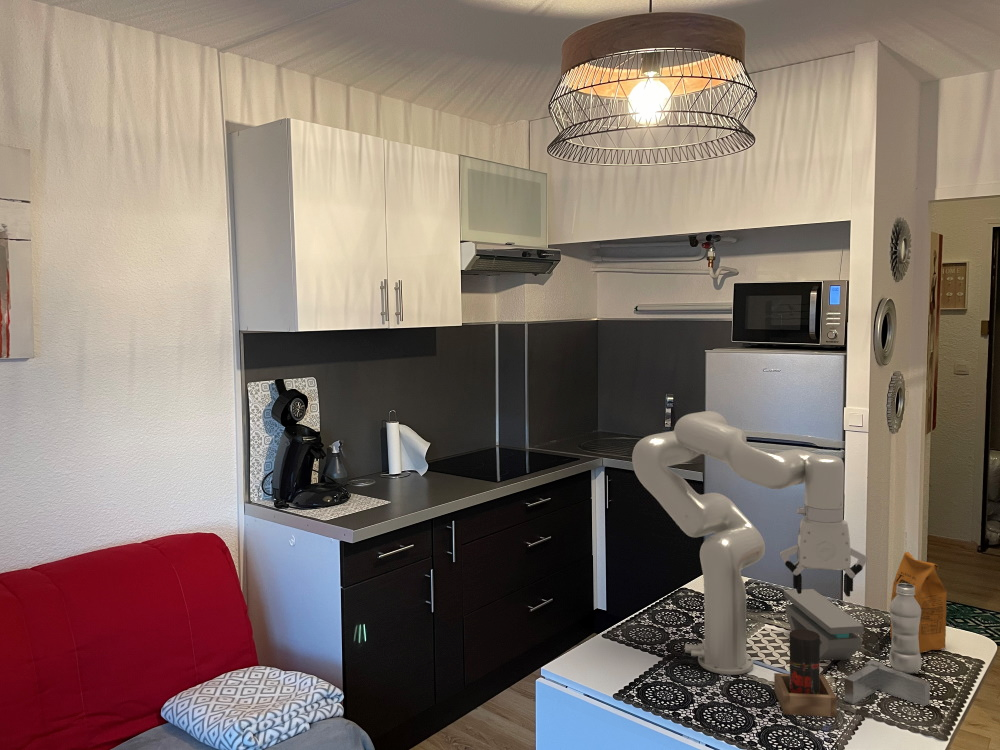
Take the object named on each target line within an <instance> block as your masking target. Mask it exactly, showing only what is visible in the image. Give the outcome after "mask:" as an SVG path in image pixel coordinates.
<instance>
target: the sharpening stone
mask: <svg viewBox="0 0 1000 750" xmlns="http://www.w3.org/2000/svg"><path fill="white" fill-rule="evenodd" d="M783 597H784V599H786V600H788V601H789V602H790V603H788V604H785V616H786V618H787V621H788V624H789V626H790V627H789V628H790V631H792V630H796V629H805V630H810V631H814V632H816V633H818V634H819V636H820V660H831V661H841V660H842V661H844V660H847V659H848V660H850V659H851V657H853V656H854V655H855V654H856V653H857V652H858V651H859V650H860V649H861V648H862V638H861V636H859V635H858V634H863V633H865V631H864V630H865V626H864V625H863V624H862V623H860V622H859V621H857V620H856V619H854V617H852V616H851V615H849V614H848V613H847V612H845V611H844V610H843V609H842V608H840V607H838V606H837V605H836V604H834V603H833V602H831V601H830V600H829V599H828V598H826V597H824V596H823V595H822V594H820V593H819V592H818V591H816V590H815V589H814V588H810V589H807V588H806V589H805V588H804V589H802V593H801V594H798V593H797V590H796V589H791V590H790V589H787V590H783ZM832 659H833V660H832Z"/></svg>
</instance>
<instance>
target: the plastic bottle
mask: <svg viewBox="0 0 1000 750" xmlns="http://www.w3.org/2000/svg"><path fill="white" fill-rule="evenodd" d="M896 593H897V596H896V597H895V598H894V599H893V600H892V601H891V600H890V603H889V607H888V608H889V615H890V617H891V618H890V624H891V623H892V638H891V645H890V650H889V656H888V661H889V665H890V666H891V667H892V668H891V669H894V670H897V671H900V672H903V673H906V674H909V675H911V674H916V673H918V672H919V671H920V670H921V668H922V663H923V662H922V656H921V653H920V650H919V640H918V636H919V634H918V633H919V624H920V618H921V607H920V605H919V604H918V602H917V601H916V599H915V598H914V595H915V586H913V585H911V584H905V583H900V584H897V590H896Z"/></svg>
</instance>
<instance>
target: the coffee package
mask: <svg viewBox="0 0 1000 750" xmlns="http://www.w3.org/2000/svg"><path fill="white" fill-rule="evenodd" d="M937 570H939V566H938V564H937V563H933V562H927V561H923V560H918V559H915V558H914V556H913V555H912V554H911V553H910V552H909V551H905V552H904V554H903V556H902V558H901V561H900V563H899V566H898V570H897V571H896V574H895V577H894V581H893V584H892V590H891V591H892V592H891V598H890V602H891V601H892V600H893V599H894V598H895V597H896V596H897V593H896V590H897V584H900V583H905V584H911V585H913V586H915V595H914V598H915V599H916V601H917V602H918V604H919V605H920V607H921V618H920V624H919V633H918V634H919V636H918V640H919V650H920V654H922V653H924V652H925V653H926V652H929V651H932V650H936V651H939V650H940V651H941V650H942V649H945V648H946V636H947V632H946V631H947V630H946V629H947V628H946V627H947V600H948V599H947V595H948V593H947V591H946V589H945V587H944V584H943V583H942V581H941V578H940V577H939V576H938V574H937ZM889 619H891V617H890V618H889ZM889 628H890V630H889V631H890V636H889V637H890V639H892V623H891V622H890V627H889Z"/></svg>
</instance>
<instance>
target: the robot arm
mask: <svg viewBox="0 0 1000 750" xmlns="http://www.w3.org/2000/svg"><path fill="white" fill-rule="evenodd" d="M631 455H632V456H631V459H632V460H631V461H632V467H633V470H634V473H635V475H636V477H637V479H638V480H639V482H640V483H641V484H642V486H643V487H644V488H645V489H646V490H647V491H648V492H649V493H650V494H651V495H652V497H654V498H655V499H656V500H657V502H658V503H659V504H660V506H661V507H662V508H663V509H664V510H665V511H666V513H667V514H668V516H670V517H671V518H672V520H673V521H674V522H675V524H676V525H677V526H678V527H679V528H680V530H681V531H683V533H684V534H685V535H686V536H688V537H691V538H700V537H704V536H708V535H709V537H707V538H706V539H705V540H704V541H703V542H702V544H701V546H700V550H699V559H700V564H701V570H702V577H703V599H704V639H702V641H701V642H702V643H698V644H692V643H691V644H687V643H685V644H684V652H685V653H688V654H690V656H691V657H697V662H698V665H700V667H702V668H703V669H704V670H706V671H709V672H710V673H711V672H712V673H715V674H719V675H726V676H737V675H744V674H746V673H749V672H750V671H752V670H753V668H754V660H753V658H752V657H751V656H750V655H748V654H747V592H746V586H745V582H744V579H743V577H742V572H741V571H742V570H743V569H745V568H747V567H750V566H752V565H755V564H756V563H758V562H760V560H762V559H763V557H764V556H765V552H766V545H765V544H766V543H765V541H764V538H763V536H762V534H761V532H760V531H759V530H758V529H757V528H756V527H755V525H754V524H753V523H752V522H751V521H750V520H749V519H748V518H747V516H745V514H744V513H743V512H742V511H741V510H740V509H739V508H738V507H737V505H736V504H735V503H734V502H733V501H732V500H731V499H730V498H729V497H727V496H726V495H724V494H721V493H719V492H707V493H704V494H700V493H697V492H696V491H695V489H693V487H692V486H691V485H690V484H689V483H688V482H687V480H685V479H684V478H683V477H682V476H681V475H679V474H678V473H676V472H674V471H673V470H671V468H669V467H671V466H675V465H679V464H684V463H686V462H689V461H691V460H693V459H695V458H697V457H698V456H701V455H704V456H706V457H709V458H712V459H713V460H714V459H715V460H717V461H719V462H722V463H723V464H724V463H725V464H727V466H728V467H729V468H730V469H731V470H732V471H733V472H734V473H735V475H737V476H739V477H740V478H742V479H744V480H746V481H748V482H751V483H752V484H756V485H759V486H760V487H764V488H766V489H770V490H782V489H786V488H789V487H792V486H797V485H802V484H804V505H803V506H801V507H797V508H796V509H797V511H796V512H797V514H798V515H802V516H803V517H802V518H801V520H800V524H799V529H798V535H797V544H794V545H793V546H791V547H788V548H785V549H784V550H782V551H780V552H779V556H780V557H781V559H782V561H783V563H784V565H785V567H786V568H787V569H789V570H790V572H791V573H792V586H793V589H795V590H797V593H798V594H801V593H802V590H803V588H802V586H803V584H802V582H803V581H802V574H801V572H802V571H804V569H811V570H822V571H823V570H826V571H844V574H843V592H844V594H845V596H846V597H848V598H850V597H851V592H854V579H855V577H856V575H857V574H859V573H860V572H861V571H862V570H863V569H864V568H863V567H864V566H865V565H866V563H867V562H868V560H869V558H868V556H866V555H865V554H864V553H861V552H860V551H858V550H856V549H854V548H852V547H851V540H850V530H849V526H848V524H849V523H848V522H847V521H846V520H845V519H844V487H845V485H844V483H845V482H844V481H845V479H844V477H845V466H844V465H845V464H844V461H843V460H842V458H840V457H839V456H836V455H830V454H817V453H813V452H811V451H807V450H803V449H796V448H795V449H789V450H784V451H781V452H775V453H769V452H766V451H764V450H760V449H757V448H755V447H752V446H751V445H749V444H747V435H746V434H745V432H744V431H743V430H742V429H740V428H737V427H734V426H731V425H728V421H727V420H726V419H725V417H724V416H723V415H722V414H720V413H719V412H717V411H714V410H713V411H712V410H708V411H707V410H706V411H699V412H693V413H688V414H685V415H683V416H682V417H680V418H679V419H678V420H677V421H676V423H675V425H674V429H673V430H672V431H671V430H670V431H665V432H661V433H660V432H659V433H655V434H650V435H647V436H645V437H643V438H642V439H640V440H639V441H637V443H636V444H635V446H634V448H633V450H632V454H631ZM713 533H714V534H713ZM710 534H712V535H710ZM795 554H796V557H797V558H796V559H797V561H796V562H795V563H793V562H792V561H791V560H790V556H793V555H795ZM851 557H854V559H855V558H856V559H857V561H856V563H854V564H853V565H852V566H851V563H852V561H851V560H852V559H851Z"/></svg>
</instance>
